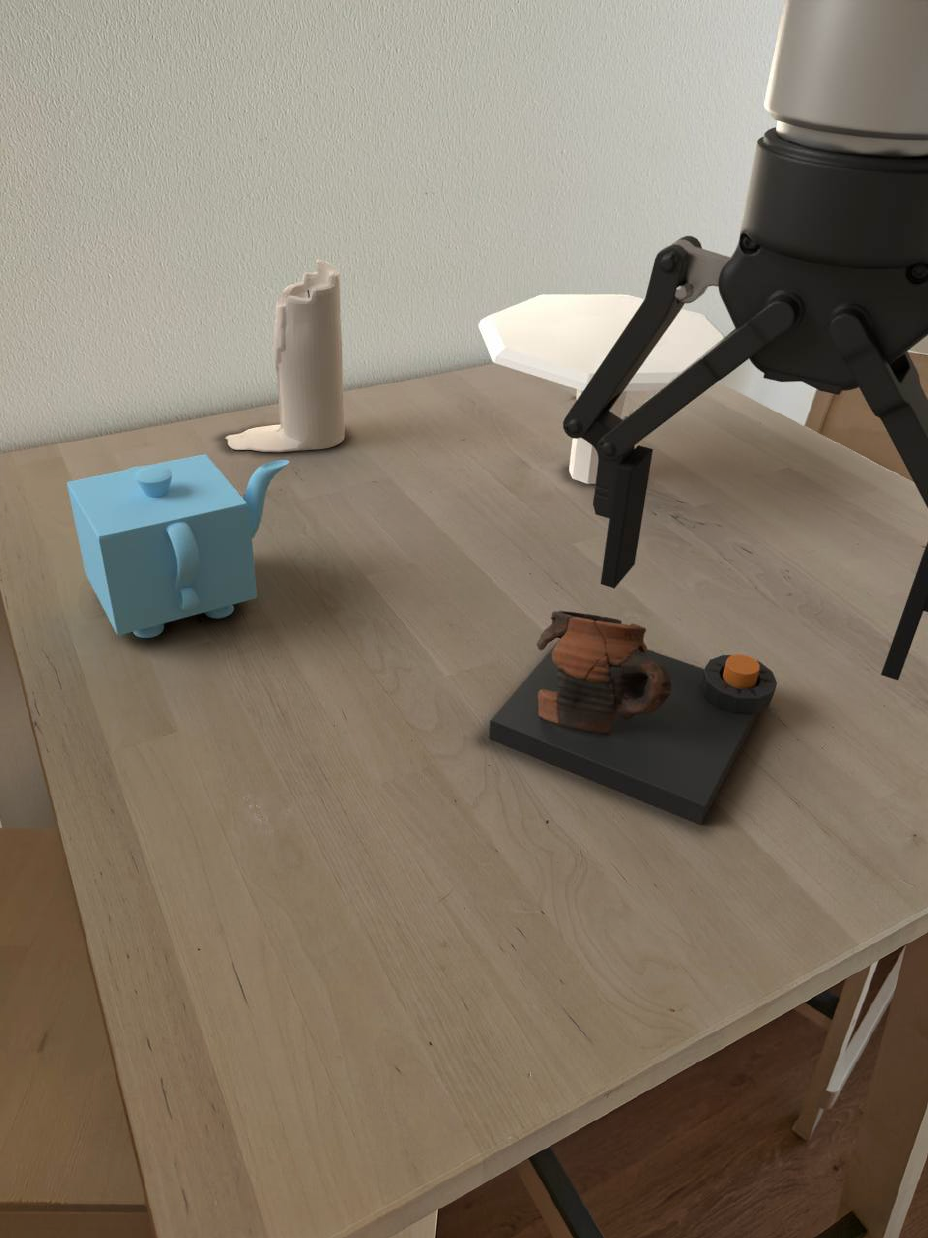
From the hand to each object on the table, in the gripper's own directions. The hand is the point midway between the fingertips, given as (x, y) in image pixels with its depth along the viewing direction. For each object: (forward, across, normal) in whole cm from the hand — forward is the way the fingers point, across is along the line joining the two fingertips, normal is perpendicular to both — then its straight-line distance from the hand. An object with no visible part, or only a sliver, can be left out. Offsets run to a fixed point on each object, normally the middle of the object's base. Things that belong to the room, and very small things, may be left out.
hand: (748, 616), depth 49 cm
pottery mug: (+23, +12, -17) cm, 31 cm away
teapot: (+25, +50, -14) cm, 58 cm away
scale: (+25, +10, -18) cm, 32 cm away
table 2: (+25, +30, -56) cm, 68 cm away
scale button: (+22, +4, -24) cm, 32 cm away
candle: (+25, +64, -44) cm, 82 cm away
